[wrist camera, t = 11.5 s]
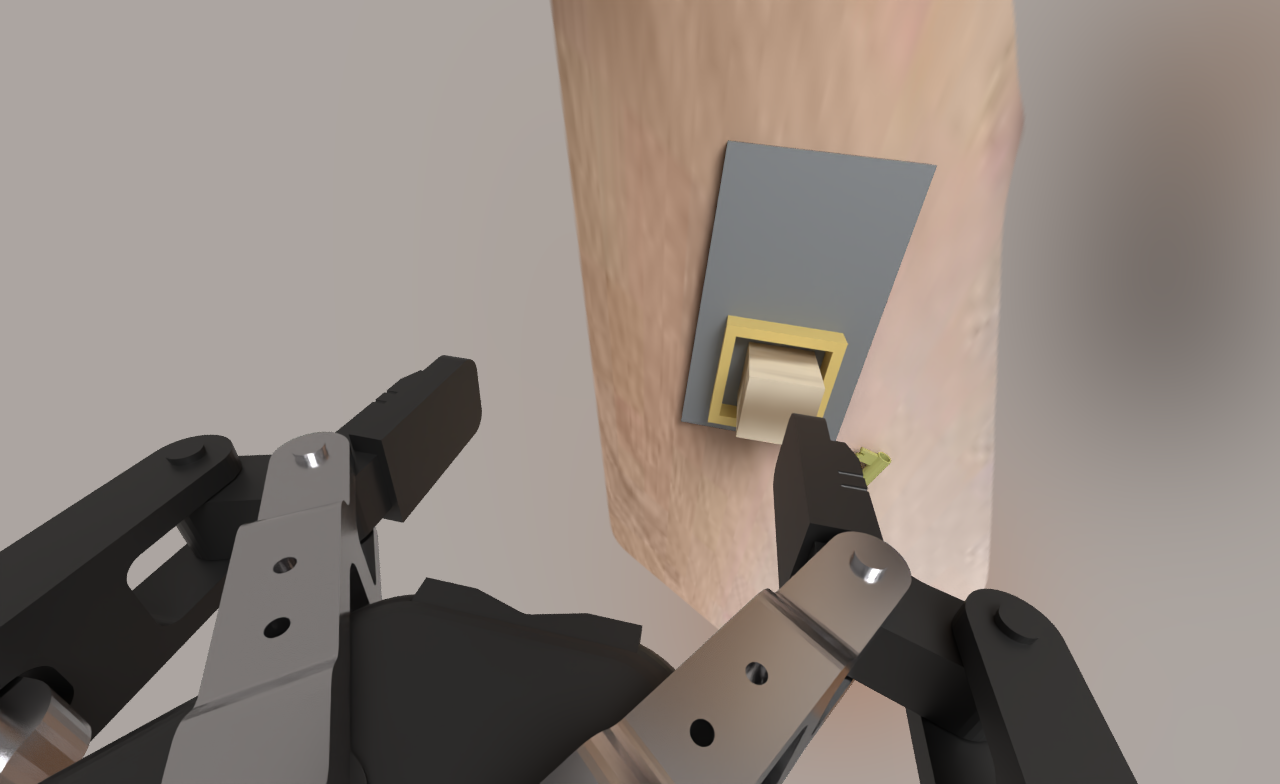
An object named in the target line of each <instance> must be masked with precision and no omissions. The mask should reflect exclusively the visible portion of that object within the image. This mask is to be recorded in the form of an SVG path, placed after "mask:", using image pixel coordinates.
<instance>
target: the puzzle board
mask: <svg viewBox="0 0 1280 784" xmlns="http://www.w3.org/2000/svg"><path fill="white" fill-rule="evenodd" d="M936 167H937V166H936V165H932V164H924V163H915V162H907V161H898V160H890V159H881V158H873V157H864V156H856V155H847V154H839V153H830V152H822V151H813V150H805V149H796V148H787V147H779V146H770V145H762V144H753V143H745V142H736V141H728V143H727V149H726V155H725V161H724V167H723V173H722V179H721V185H720V191H719V197H718V203H717V209H716V215H715V221H714V227H713V233H712V239H711V245H710V251H709V257H708V263H707V269H706V275H705V281H704V287H703V293H702V299H701V305H700V311H699V317H698V323H697V329H696V335H695V341H694V347H693V353H692V359H691V365H690V371H689V377H688V383H687V389H686V395H685V401H684V407H683V413H682V419H681V421H683V422H688V423H694V424H699V425H704V426H710V427H715V428H721V429H726V430H732V431H736V422H737V395H738V390H739V386H740V381H741V376H742V372H743V367H744V362H745V358H746V353H747V348H748V343H749V342H754V343H761V344H767V345H774V346H781V347H787V348H794V349H801V350H807V351H814V352H815V356H816V359H817V362H818V366H819V369H820V373H821V376H822V379H823V383H824V386H825V391H824V394H823V398H822V401H821V404H820V407H819V410H818V413H817V416H816V417H821V418H825V419H826V422H827V427H828V431H829V435H830V439H831V440H832V441H836V438H837V435H838V433H839V430H840V427H841V425H842V422H843V419H844V416H845V414H846V411H847V408H848V406H849V403H850V400H851V397H852V395H853V392H854V389H855V387H856V384H857V381H858V378H859V376H860V373H861V370H862V368H863V365H864V362H865V359H866V357H867V354H868V351H869V349H870V346H871V343H872V340H873V338H874V335H875V332H876V330H877V327H878V324H879V321H880V319H881V316H882V313H883V311H884V308H885V305H886V303H887V300H888V297H889V294H890V292H891V289H892V286H893V284H894V281H895V278H896V275H897V273H898V270H899V267H900V265H901V262H902V259H903V256H904V254H905V251H906V248H907V246H908V243H909V240H910V237H911V235H912V232H913V229H914V227H915V224H916V221H917V218H918V216H919V213H920V210H921V208H922V205H923V202H924V199H925V197H926V194H927V191H928V189H929V186H930V183H931V180H932V178H933V175H934V172H935V170H936Z"/></svg>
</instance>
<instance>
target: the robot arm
mask: <svg viewBox="0 0 1280 784" xmlns="http://www.w3.org/2000/svg"><path fill="white" fill-rule="evenodd" d="M481 416H482V408H481V400H480V393H479V384H478V376H477V368H476V365H475V362H474V361H473V360H471V359H465V358H459V357H452V356H446V355H443V356H440V357H439V358H438V359H436V360H435V361H434V362H433V363H432V364H431V365H429V367H427V368H426V369H425V370H423V371H421V370H420V371H418V372H416V373H413V374H411V375H409V376H407V377H404V378H402V379H400V380H399V381H398V382H397V383H395V384H394V385H393V386H392V387H391V388H389V389H388V390H387V393H383V394H382V395H381V396H380V397H378V398H377V399H376V402H372V403H371V404H370V405H369V406H367V407H366V408H365V409H364V410H363V411H361V412H360V413H359V414H357V415H356V416H355V417H354V418H353V419H351V420H350V421H349V422H348V423H346V425H344V426H343V427H341V428H340V429H339V430H338V431H337V432H335V433H333V432H317V433H311V434H306V435H303V436H300V437H297V438H295V439H292V440H290V441H288V442H286V443H285V444H284V445H282V446H280V447H279V448H278V449H277V450H276V451H275V452H274V453H273V454H272V455H254V456H253V455H252V456H238V455H237V453H236V450H235V448H234V446H233V444H232V442H231V441H230V440H229V439H228V438H226V437H224V436H219V435H202V436H195V437H190V438H186V439H182V440H179V441H176V442H174V443H171V444H169V445H167V446H165V447H163V448H161V449H159V450H157V451H156V452H154V453H153V454H151V455H150V456H148V457H146V458H145V459H143V460H142V461H140V462H139V463H137V464H135V465H134V466H132V467H131V468H129V469H128V470H126V471H125V472H123V473H122V474H120V475H118V476H117V477H115V478H114V479H112V480H111V481H109V482H108V483H106V484H105V485H103V486H101V487H100V488H98V489H97V490H95V491H94V492H92V493H91V494H89V495H87V496H86V497H84V498H83V499H81V500H80V501H78V502H77V503H75V504H74V505H72V506H70V507H69V508H67V509H66V510H64V511H63V512H61V513H60V514H58V515H57V516H55V517H53V518H52V519H50V520H49V521H47V522H46V523H44V524H43V525H41V526H39V527H38V528H36V529H35V530H33V531H32V532H30V533H29V534H27V535H25V536H24V537H22V538H21V539H19V540H18V541H16V542H15V543H13V544H12V545H10V546H9V547H7V548H5V549H4V550H2V551H1V552H0V784H782V783H783V781H784V780H785V779H786V777H787V775H788V774H789V773H790V771H791V769H792V768H793V767H794V765H795V763H796V762H797V760H798V759H799V757H800V756H801V754H802V753H803V751H804V749H805V748H806V747H807V745H808V744H809V743H810V741H811V740H812V738H813V737H814V736H815V734H816V733H817V731H818V730H819V729H820V727H821V726H822V725H823V723H824V722H825V721H826V719H827V718H828V716H829V715H830V714H831V712H832V711H833V709H834V708H835V707H836V705H837V704H838V703H839V701H840V700H841V699H842V697H843V696H844V694H845V693H846V692H847V690H848V689H849V688H850V686H851V685H852V683H853V682H854V681H855V680H856V681H858V682H860V683H862V684H864V685H865V686H867V687H869V688H871V689H873V690H874V691H876V692H878V693H880V694H882V695H884V696H885V697H887V698H889V699H891V700H893V701H895V702H897V703H898V704H900V705H902V706H904V707H905V708H906V713H907V718H908V723H909V728H910V733H911V739H912V744H913V749H914V754H915V759H916V764H917V769H918V774H919V779H920V784H1138V783H1137V781H1136V779H1135V777H1134V775H1133V773H1132V771H1131V770H1130V768H1129V766H1128V764H1127V762H1126V760H1125V758H1124V756H1123V754H1122V752H1121V750H1120V748H1119V746H1118V744H1117V742H1116V740H1115V738H1114V736H1113V735H1112V732H1111V731H1110V729H1109V727H1108V725H1107V723H1106V721H1105V719H1104V717H1103V715H1102V713H1101V711H1100V709H1099V707H1098V705H1097V703H1096V701H1095V700H1094V697H1093V695H1092V694H1091V692H1090V690H1089V688H1088V686H1087V684H1086V682H1085V680H1084V678H1083V676H1082V674H1081V672H1080V670H1079V668H1078V666H1077V664H1076V662H1075V660H1074V658H1073V656H1072V655H1071V653H1070V651H1069V649H1068V647H1067V645H1066V643H1065V641H1064V639H1063V637H1062V636H1061V634H1060V633H1059V631H1058V630H1057V628H1056V627H1055V626H1054V625H1053V624H1052V623H1051V622H1050V621H1049V620H1048V618H1047V617H1045V616H1044V615H1043V614H1042V613H1041V612H1040V611H1038V610H1037V609H1036V608H1034V607H1033V606H1031V605H1030V604H1028V603H1027V602H1025V601H1024V600H1022V599H1020V598H1018V597H1016V596H1013V595H1011V594H1009V593H1006V592H1003V591H999V590H994V589H979V590H976V591H973V592H972V593H971V594H969V596H968V597H967V599H966V600H965V601H963V600H960V599H958V598H956V597H954V596H951V595H949V594H947V593H945V592H942V591H940V590H938V589H936V588H933V587H931V586H929V585H927V584H925V583H923V582H921V581H919V580H918V579H916V578H914V577H913V576H911V572H910V569H909V567H908V565H907V563H906V561H905V560H904V558H903V557H902V556H901V555H900V554H899V553H898V552H897V551H896V550H895V549H894V548H893V547H892V546H890V545H889V544H887V543H886V542H884V541H883V538H882V535H881V531H880V528H879V525H878V521H877V518H876V515H875V511H874V508H873V505H872V501H871V498H870V495H869V492H867V489H868V488H867V485H866V481H865V478H863V471H862V468H861V465H860V461H859V458H858V457H857V456H856V455H855V454H854V452H853V451H852V450H851V449H850V448H849V447H848V446H847V444H846V443H844V442H838V441H832V440H831V439H830V435H829V431H828V427H827V422H826V419H825V418H821V417H815V416H809V415H803V414H797V413H792V414H791V416H790V418H789V421H788V425H787V428H786V431H785V435H784V438H783V442H782V445H781V449H780V452H779V456H778V459H777V463H776V467H775V473H774V481H773V492H774V509H775V526H776V542H777V559H778V575H779V590H778V591H777V592H775V593H774V592H772V591H771V590H770V589H764V590H763V591H761V592H760V593H758V594H757V595H756V596H755V597H754V598H753V599H752V600H751V601H749V602H748V603H747V604H746V605H745V606H744V607H743V608H742V609H741V610H740V611H739V612H738V613H737V614H735V615H734V616H733V617H732V618H731V619H730V620H729V621H728V622H727V623H726V624H725V625H724V626H723V627H721V628H720V629H719V630H718V631H717V632H716V633H715V634H714V635H713V636H712V637H711V638H710V639H709V640H707V641H706V642H705V643H704V644H703V645H702V646H701V647H700V648H699V649H698V650H697V651H696V652H695V653H693V654H692V655H691V656H690V657H689V658H688V659H687V660H686V661H685V662H684V663H683V664H682V665H681V666H679V667H678V668H677V669H676V670H675V669H674V668H673V667H672V666H671V665H670V664H669V663H668V662H666V661H665V660H664V659H663V658H662V657H660V656H659V655H657V654H656V653H655V652H653V651H652V650H650V649H648V648H646V647H645V646H643V645H641V644H640V640H641V632H642V626H641V625H637V624H632V623H628V622H623V621H619V620H614V619H610V618H606V617H601V616H597V615H592V614H588V613H581V614H580V613H579V614H535V615H531V614H524V613H522V612H519V611H517V610H516V609H514V608H512V607H510V606H508V605H506V604H505V603H503V602H501V601H499V600H497V599H495V598H493V597H492V596H490V595H488V594H486V593H484V592H482V591H480V590H479V589H476V588H472V587H467V586H463V585H458V584H454V583H449V582H445V581H440V580H436V579H431V578H426V579H425V580H424V582H423V584H422V585H421V586H420V588H419V589H418V591H417V592H416V594H414V595H404V596H397V597H393V598H389V599H385V600H382V596H381V582H380V565H379V549H378V535H377V531H376V528H375V526H376V525H377V524H378V523H379V521H380V520H381V519H382V518H384V519H388V520H393V521H398V522H404V521H405V520H406V519H407V517H408V516H409V515H410V514H411V512H412V511H413V510H414V509H415V507H416V506H417V505H418V504H419V503H420V501H421V500H422V499H423V498H424V496H425V495H426V494H427V493H428V491H429V490H430V489H431V488H432V486H433V485H434V484H435V483H436V481H437V480H438V479H439V478H440V476H441V475H442V474H443V473H444V471H445V470H446V469H447V468H448V467H449V465H450V464H451V463H452V461H453V460H454V459H455V458H456V457H457V456H458V454H459V453H460V452H461V451H462V449H463V448H464V447H465V446H466V444H467V443H468V442H469V441H470V439H471V438H472V437H473V436H474V434H475V433H476V432H477V430H478V428H479V425H480V421H481ZM175 526H177V528H178V529H179V531H180V533H181V534H182V536H183V538H184V539H185V540H186V542H187V544H186V545H185V546H184V547H183V548H181V549H180V550H179V551H178V552H177V553H176V554H174V555H173V556H172V557H171V558H170V559H169V560H167V561H166V562H165V563H164V564H163V565H162V566H160V567H159V568H158V569H157V570H156V571H155V572H153V573H152V574H151V575H150V576H149V577H148V578H146V579H145V580H144V581H143V582H142V583H141V584H139V585H138V586H137V587H136V588H135V589H134V590H131V589H130V588H129V586H128V584H127V573H128V570H129V568H130V566H131V564H132V563H133V561H134V560H135V559H136V558H137V557H138V556H139V555H140V554H141V553H143V552H144V551H145V550H146V549H148V548H149V547H150V546H151V545H153V544H154V543H155V542H156V541H158V540H159V539H160V538H161V537H163V536H164V535H165V534H166V533H167V532H168V531H170V530H171V529H172V528H174V527H175ZM218 608H219V610H218V614H217V619H216V623H215V627H214V631H213V636H212V640H211V644H210V648H209V653H208V657H207V661H206V665H205V669H204V674H203V678H202V682H201V686H200V690H199V695H198V696H196V697H195V698H193V699H191V700H189V701H187V702H185V703H184V704H182V705H180V706H178V707H176V708H174V709H172V710H171V711H169V712H167V713H165V714H163V715H161V716H160V717H158V718H156V719H154V720H152V721H151V722H149V723H147V724H145V725H143V726H141V727H139V728H138V729H136V730H134V731H132V732H130V733H129V734H127V735H125V736H123V737H121V738H119V739H118V740H116V741H114V742H112V743H110V744H108V745H106V746H105V747H103V748H101V749H100V750H97V751H95V752H94V753H92V754H90V755H88V756H86V757H85V758H83V756H84V755H85V753H86V751H87V749H88V746H89V743H90V741H92V739H93V738H94V737H95V736H96V735H97V734H98V733H99V732H100V731H101V730H102V729H103V728H104V727H105V726H106V725H107V724H108V723H109V722H110V721H111V719H112V718H114V717H115V715H116V714H117V713H118V712H119V711H120V710H121V709H122V708H123V707H124V706H125V705H126V704H127V703H128V702H129V701H130V700H131V699H132V698H133V697H134V696H135V695H136V694H137V692H138V691H139V690H140V689H141V688H142V687H143V686H144V685H145V684H146V683H147V682H148V681H149V680H150V679H151V678H152V677H153V676H154V675H155V674H156V673H157V672H158V670H160V668H161V667H162V666H163V665H164V664H165V663H166V662H167V661H168V660H169V659H170V658H171V657H172V656H173V655H174V654H175V653H176V652H177V651H178V650H179V649H180V648H181V646H183V645H184V644H185V642H186V641H187V640H188V639H189V638H190V637H191V636H192V635H193V634H194V633H195V632H196V631H197V630H198V629H199V628H200V627H201V626H202V625H203V624H204V623H205V622H206V621H207V620H208V618H209V617H210V616H211V615H212V614H213V613H214V612H215V611H216V610H217V609H218ZM82 758H83V759H82Z"/></svg>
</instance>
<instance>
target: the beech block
mask: <svg viewBox="0 0 1280 784" xmlns="http://www.w3.org/2000/svg"><path fill="white" fill-rule="evenodd" d="M824 391H825V386H824V383H823V379H822V376H821V373H820V369H819V366H818V362H817V359H816V356H815V352H814V351H807V350H801V349H794V348H787V347H781V346H774V345H767V344H761V343H754V342H749V343H748V348H747V353H746V358H745V362H744V367H743V372H742V376H741V381H740V386H739V390H738V395H737V422H736V437H739V438H745V439H751V440H757V441H762V442H768V443H774V444H780V445H782V442H783V438H784V435H785V431H786V428H787V425H788V421H789V418H790V416H791V414H792V413H797V414H803V415H809V416H815V417H816V416H817V413H818V410H819V407H820V404H821V401H822V398H823V394H824Z"/></svg>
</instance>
